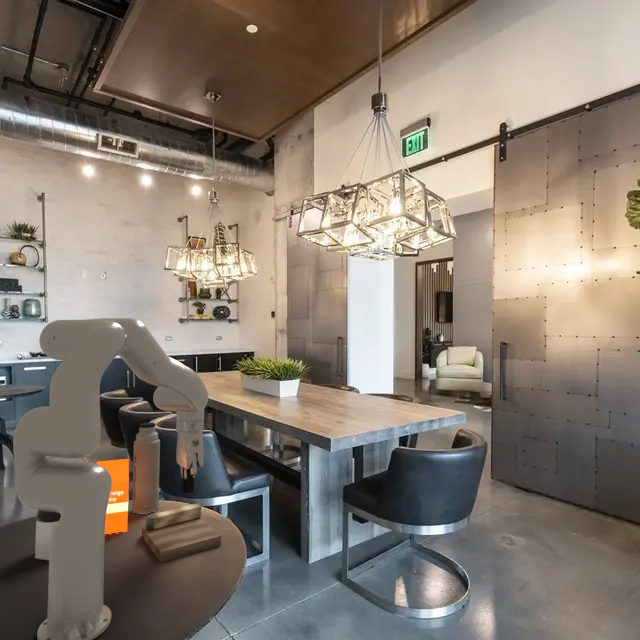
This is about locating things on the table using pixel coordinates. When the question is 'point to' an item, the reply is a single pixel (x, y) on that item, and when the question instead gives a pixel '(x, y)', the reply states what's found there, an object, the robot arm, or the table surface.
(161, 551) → the stool top
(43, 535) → the jar
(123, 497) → the orange juice
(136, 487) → the thermos bottle
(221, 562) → the table surface
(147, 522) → the hinged leg
